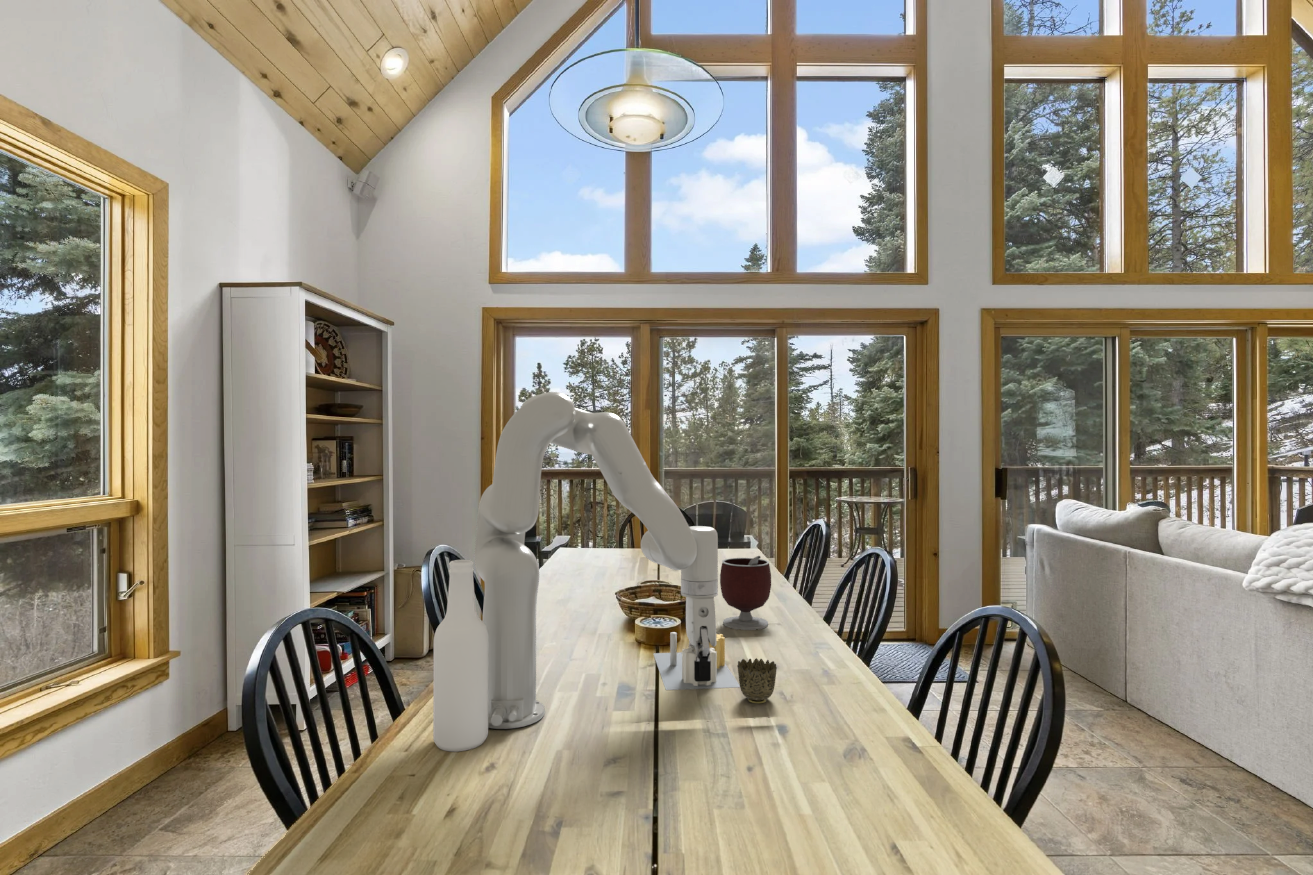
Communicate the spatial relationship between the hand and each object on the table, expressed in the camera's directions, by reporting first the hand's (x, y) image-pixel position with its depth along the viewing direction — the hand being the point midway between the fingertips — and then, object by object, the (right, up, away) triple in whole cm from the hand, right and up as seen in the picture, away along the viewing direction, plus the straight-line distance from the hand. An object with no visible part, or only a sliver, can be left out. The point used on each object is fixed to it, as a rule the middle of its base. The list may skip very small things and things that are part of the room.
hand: (699, 673), depth 144 cm
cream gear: (0, -1, 0) cm, 1 cm away
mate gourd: (+16, -3, +48) cm, 51 cm away
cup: (+10, -3, -11) cm, 15 cm away
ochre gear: (+3, -1, +10) cm, 11 cm away
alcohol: (-41, -3, -27) cm, 49 cm away
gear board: (-1, -3, +7) cm, 7 cm away
